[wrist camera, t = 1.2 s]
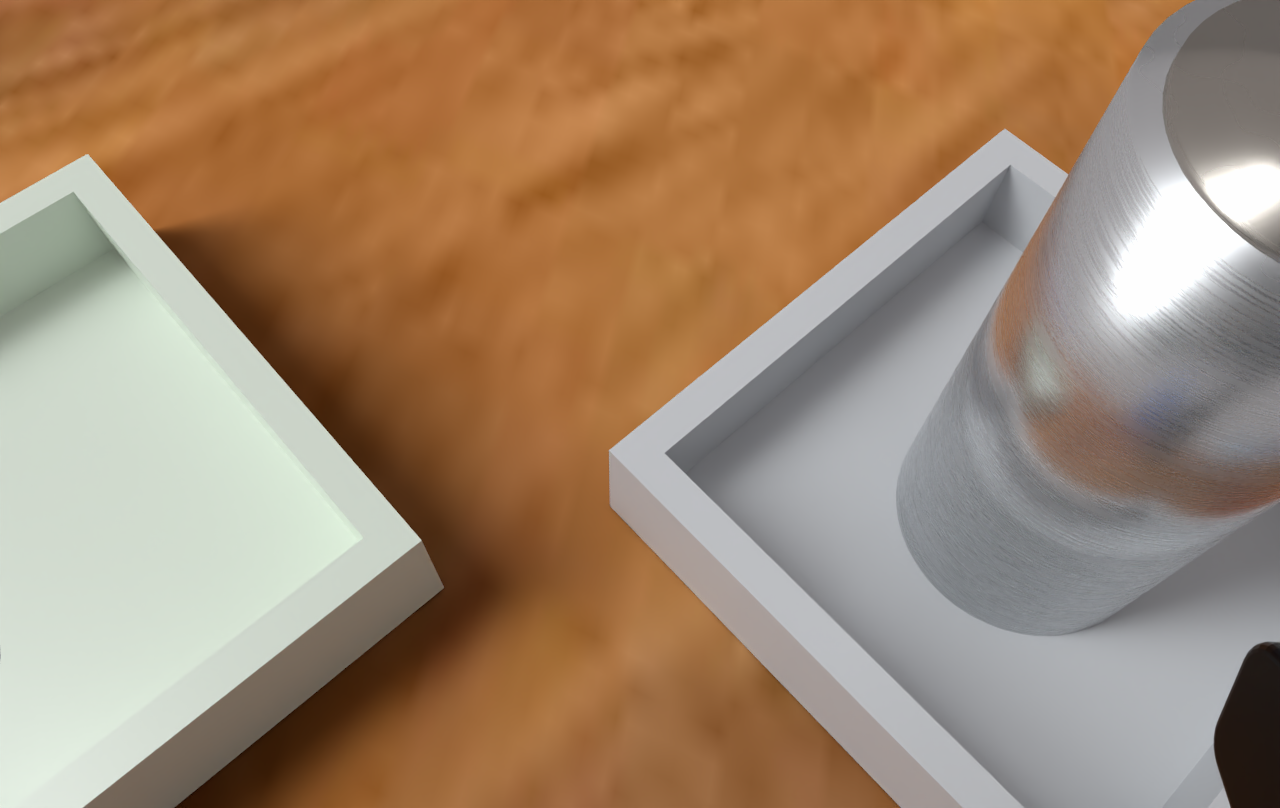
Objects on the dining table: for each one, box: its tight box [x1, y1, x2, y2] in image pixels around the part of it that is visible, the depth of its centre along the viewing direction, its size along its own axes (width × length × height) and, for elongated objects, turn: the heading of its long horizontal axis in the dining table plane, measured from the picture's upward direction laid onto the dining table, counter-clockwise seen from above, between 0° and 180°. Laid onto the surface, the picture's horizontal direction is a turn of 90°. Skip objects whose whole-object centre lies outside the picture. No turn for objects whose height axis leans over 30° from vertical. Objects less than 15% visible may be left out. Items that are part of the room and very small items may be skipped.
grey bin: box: [609, 129, 1280, 808], centre depth 23 cm, size 13×13×3 cm
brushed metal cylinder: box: [896, 0, 1280, 636], centre depth 18 cm, size 6×6×12 cm
